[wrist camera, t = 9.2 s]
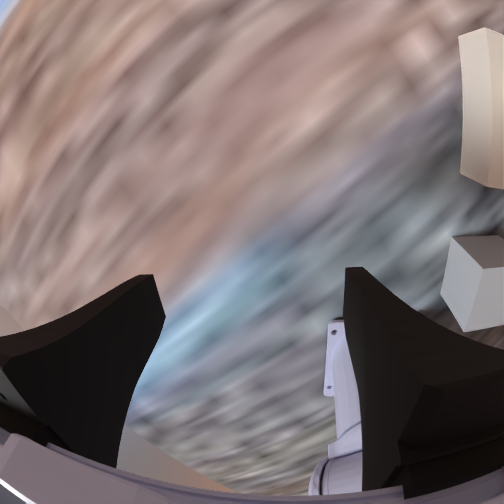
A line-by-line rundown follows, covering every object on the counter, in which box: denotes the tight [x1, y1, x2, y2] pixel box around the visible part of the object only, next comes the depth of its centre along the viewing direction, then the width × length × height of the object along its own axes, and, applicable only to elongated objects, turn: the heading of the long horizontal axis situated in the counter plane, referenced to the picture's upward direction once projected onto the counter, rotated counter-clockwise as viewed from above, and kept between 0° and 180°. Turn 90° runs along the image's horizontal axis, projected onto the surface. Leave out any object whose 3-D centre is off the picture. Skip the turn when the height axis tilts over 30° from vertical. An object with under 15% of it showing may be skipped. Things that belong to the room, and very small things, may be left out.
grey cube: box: [440, 235, 504, 332], centre depth 17 cm, size 5×5×5 cm
